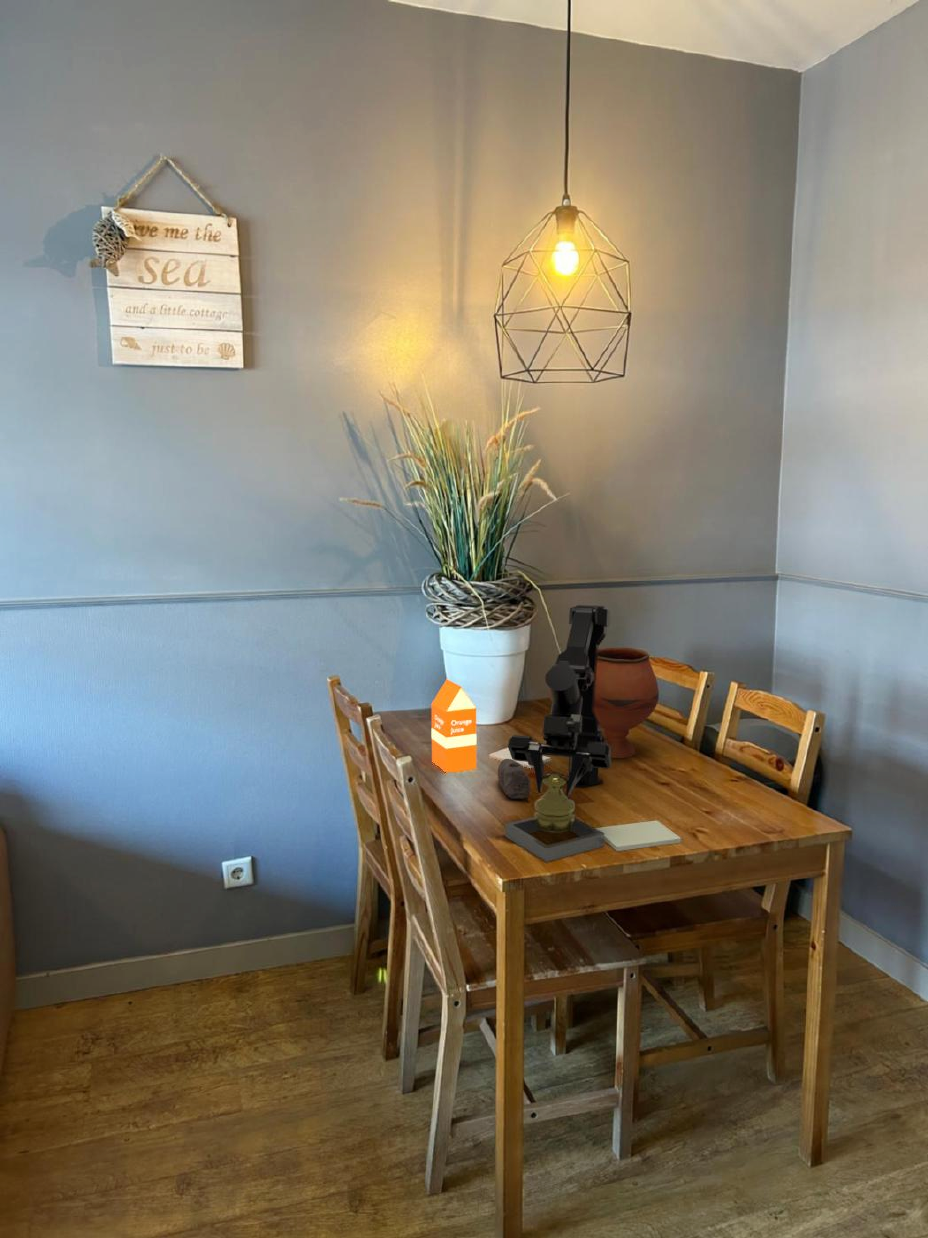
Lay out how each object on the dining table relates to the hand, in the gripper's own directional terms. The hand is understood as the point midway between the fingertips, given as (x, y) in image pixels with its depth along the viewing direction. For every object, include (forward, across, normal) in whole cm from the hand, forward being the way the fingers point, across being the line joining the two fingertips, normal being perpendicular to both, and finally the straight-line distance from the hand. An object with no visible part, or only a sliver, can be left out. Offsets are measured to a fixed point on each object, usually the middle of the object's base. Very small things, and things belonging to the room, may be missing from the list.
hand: (553, 793), depth 160 cm
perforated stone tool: (-10, -14, +25) cm, 30 cm away
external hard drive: (-25, -17, +41) cm, 51 cm away
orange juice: (-19, -30, +34) cm, 49 cm away
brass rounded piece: (+4, 0, +6) cm, 7 cm away
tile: (+2, +15, +12) cm, 19 cm away
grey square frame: (+6, 0, +8) cm, 10 cm away
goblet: (-34, +5, +48) cm, 59 cm away
